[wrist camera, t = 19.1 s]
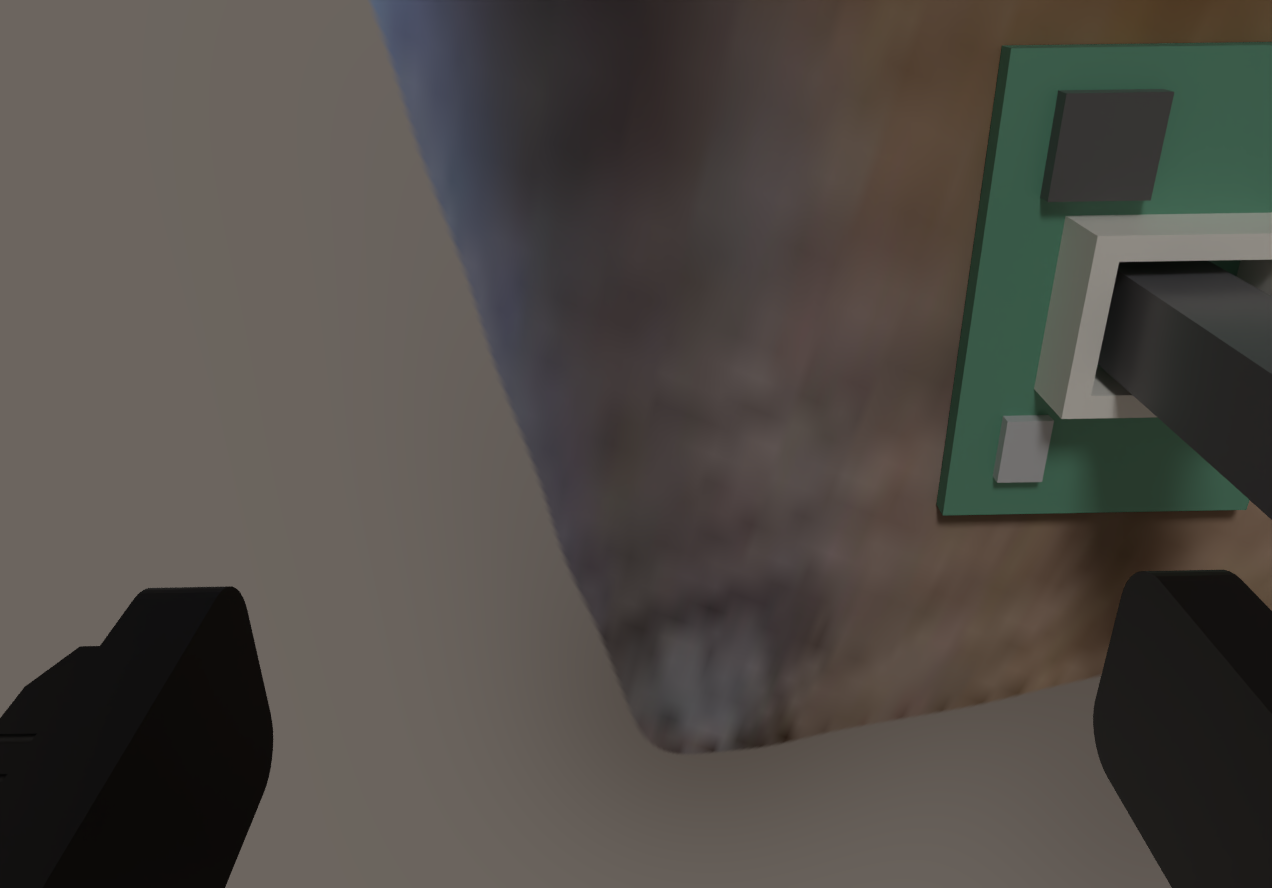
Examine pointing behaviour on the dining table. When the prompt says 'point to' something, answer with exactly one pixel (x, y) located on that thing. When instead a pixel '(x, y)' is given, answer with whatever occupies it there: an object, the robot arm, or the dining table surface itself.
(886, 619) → the dining table surface
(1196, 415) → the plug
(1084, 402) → the circuit board
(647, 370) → the dining table surface
